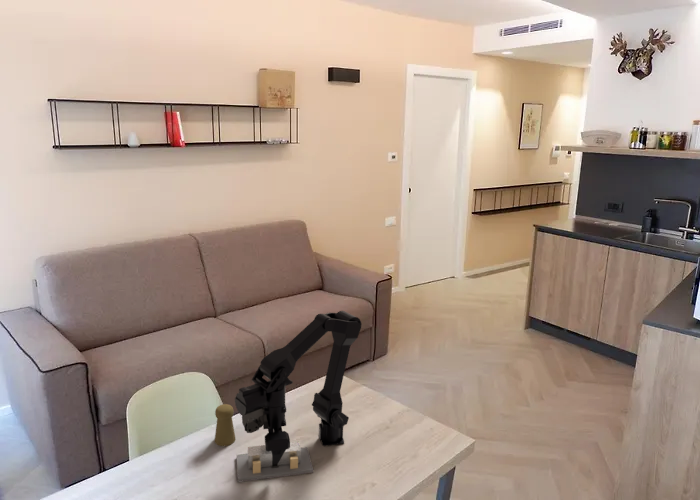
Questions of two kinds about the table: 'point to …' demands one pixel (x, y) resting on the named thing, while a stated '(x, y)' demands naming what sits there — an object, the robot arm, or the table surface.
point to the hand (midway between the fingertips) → (274, 452)
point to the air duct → (266, 456)
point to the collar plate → (273, 467)
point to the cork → (224, 425)
